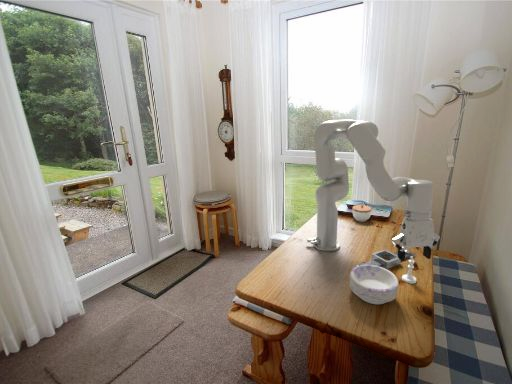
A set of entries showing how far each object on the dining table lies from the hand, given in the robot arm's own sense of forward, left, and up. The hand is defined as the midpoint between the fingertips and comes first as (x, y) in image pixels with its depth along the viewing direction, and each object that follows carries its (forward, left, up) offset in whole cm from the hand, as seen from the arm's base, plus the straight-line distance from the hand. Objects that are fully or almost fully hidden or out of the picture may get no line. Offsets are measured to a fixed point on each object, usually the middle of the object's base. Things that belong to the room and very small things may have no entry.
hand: (413, 258), depth 95 cm
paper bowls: (-18, -6, -10) cm, 22 cm away
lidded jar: (+9, +61, -10) cm, 62 cm away
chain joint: (-2, +14, -9) cm, 17 cm away
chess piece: (0, +1, -10) cm, 10 cm away
